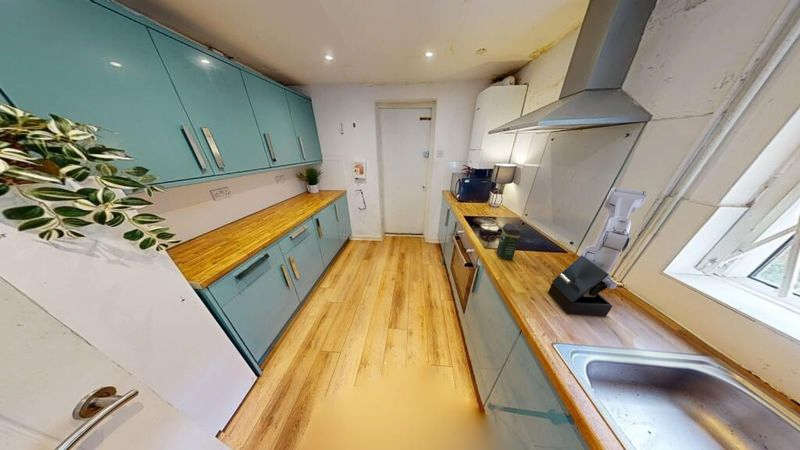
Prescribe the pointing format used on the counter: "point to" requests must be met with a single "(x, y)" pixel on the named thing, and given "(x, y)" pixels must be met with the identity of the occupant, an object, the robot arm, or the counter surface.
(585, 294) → the scrap block
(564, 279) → the caddy lid
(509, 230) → the coffee jar
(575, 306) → the block
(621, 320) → the counter surface
